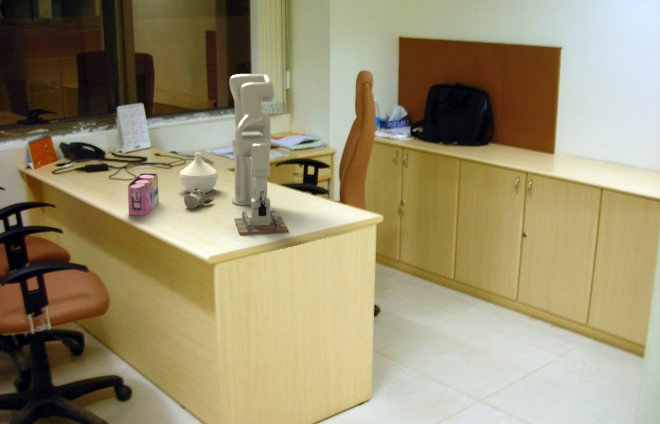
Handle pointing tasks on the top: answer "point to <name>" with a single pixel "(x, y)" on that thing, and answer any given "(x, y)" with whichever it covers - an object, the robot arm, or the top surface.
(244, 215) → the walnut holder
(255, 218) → the small box
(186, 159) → the top surface
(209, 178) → the vase
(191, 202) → the ceramic sculpture
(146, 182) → the gum box
